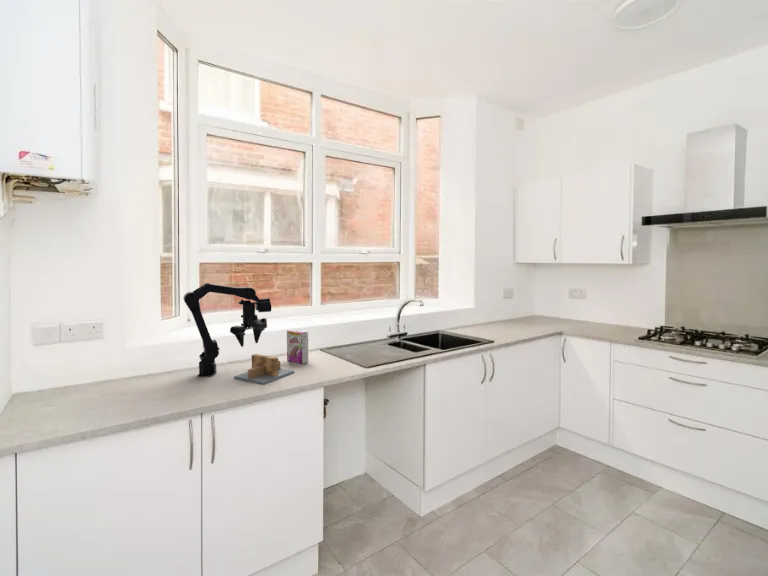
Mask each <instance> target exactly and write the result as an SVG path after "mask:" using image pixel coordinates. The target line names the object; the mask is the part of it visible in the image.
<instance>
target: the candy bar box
mask: <svg viewBox="0 0 768 576" xmlns="http://www.w3.org/2000/svg"><path fill="white" fill-rule="evenodd" d="M286 361H287V362H291V363H296V364H300V365H305V364H307V363H309V332H308V331H304V330H300V329H299V330H298V329H289V330H286Z"/></svg>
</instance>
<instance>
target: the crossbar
mask: <svg viewBox="0 0 768 576" xmlns="http://www.w3.org/2000/svg"><path fill="white" fill-rule="evenodd" d="M278 361H279V357H276V356H269V355H265V354H264V355H263V354H257V353H254V354H251V368H254V367H257V366H264V370H266V375H270V376H277V375H278Z"/></svg>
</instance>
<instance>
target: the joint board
mask: <svg viewBox="0 0 768 576" xmlns="http://www.w3.org/2000/svg"><path fill="white" fill-rule="evenodd" d="M294 373H295V370H292V369H287V368H281V360H278V375H277V376H270V375H266V370H264V366H257V367H254V368H252V367H251V368H248V370H247V371H245V372H243V373H242V372H241V373H239V374H237V375H234V376H233V379H236V380H241V381H246V382H250V383H255V384H259V385H266V384H270V383H272V382H274V381H277V380H279V379H282V378H285V377H287V376H289V375H292V374H294Z"/></svg>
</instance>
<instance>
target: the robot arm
mask: <svg viewBox="0 0 768 576" xmlns="http://www.w3.org/2000/svg"><path fill="white" fill-rule="evenodd" d="M209 293H212V294H213V293H215V294H223V295H229V296H234V297H235V296H236V297H239V298H241V299H240V301H238V305H239V306H240V305H242V314H241V315H240V317H241V318H242V323H240V325H234V326H231V327H230V330H229V333H231V334H232V335H234V336H235V338H236V340H237V341H238V344H239V345H240V347H242V348H244V346H245V342H244V341H245V339H244V338H245V336H246V331H247V330H252V332H253V339H254V343H255V344H258V342H259V340H260V337H261V334H262V332H264V331H265V330H266V328H268V322H267V321H268V319H267V318H265V317H263V318H258V315H257V314H256V311H257V312H258V313H270V312H272V303H271V298H270V297H266V298H259V297H258V295H257V291H256V290H255V289H254V288H253V287H250V286H240V287H239V286H238V287H237V286H236V287H233V286H228V285H219V284H213V283H209V282H206V283H203V284H202V285H201V286H199V287H198V288H196V289H195V290H193V291H188V292H186V293H185V294H184V295H183V301H184V304H185V305H186V306H187V308H188V309H189V311H190V313H191V315H192V317H193V319H194V322H195V324H196V327H197V330H198V332H199V335H200V338H201V341H202V347H203V352H201V354H200V355H199V356H198V357H199V360H200V361H198V374H197V376H198V377H212V376H215V374H216V373H217V364H216V358H218V357H219V354H220V350H221V349H220V347H219V345H218V341H217V340H216V339H212V338H211V335H210V333H209V329H208V327H207V325H206V322H205V319H204V316H203V314H202V311H201V304H200V300H201V299H202V298H203V297H205V296H206V295H207V294H209ZM244 299H246V300H244ZM251 300H252V301H251Z"/></svg>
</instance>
